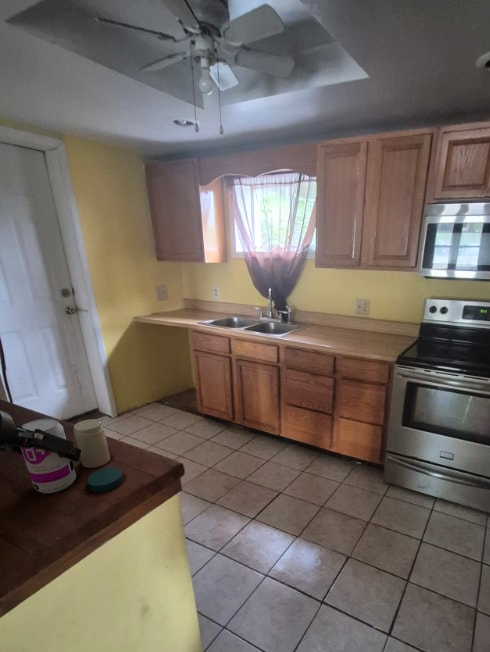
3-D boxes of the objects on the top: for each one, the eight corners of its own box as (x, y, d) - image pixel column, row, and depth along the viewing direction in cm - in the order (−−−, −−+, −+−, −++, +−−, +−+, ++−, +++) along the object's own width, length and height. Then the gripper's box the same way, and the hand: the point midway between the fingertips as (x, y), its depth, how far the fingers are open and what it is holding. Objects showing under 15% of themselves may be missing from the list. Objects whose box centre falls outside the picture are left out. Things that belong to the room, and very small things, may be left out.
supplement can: (63, 495, 81) (45, 434, 75) (26, 494, 81) (5, 434, 75) (84, 473, 88) (69, 417, 83) (49, 473, 89) (32, 417, 83)
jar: (76, 466, 91) (65, 429, 87) (92, 453, 97) (84, 417, 93) (100, 469, 90) (90, 431, 86) (115, 455, 96) (107, 419, 92)
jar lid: (106, 494, 81) (105, 488, 81) (81, 488, 83) (79, 482, 83) (129, 476, 87) (128, 470, 87) (105, 471, 89) (103, 465, 89)
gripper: (-89, 443, 64) (11, 469, 85) (28, 447, 63) (100, 472, 84) (-71, 403, 66) (21, 437, 88) (41, 406, 65) (107, 440, 87)
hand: (59, 455), depth 86 cm, fingers closed on supplement can, 8 cm apart
